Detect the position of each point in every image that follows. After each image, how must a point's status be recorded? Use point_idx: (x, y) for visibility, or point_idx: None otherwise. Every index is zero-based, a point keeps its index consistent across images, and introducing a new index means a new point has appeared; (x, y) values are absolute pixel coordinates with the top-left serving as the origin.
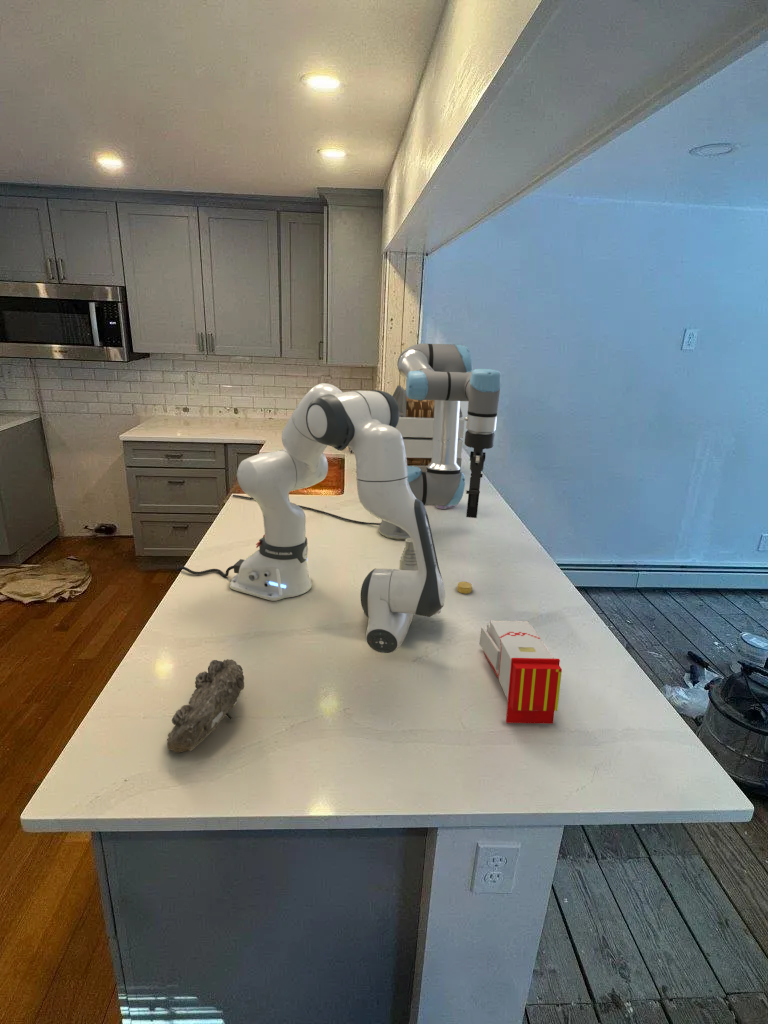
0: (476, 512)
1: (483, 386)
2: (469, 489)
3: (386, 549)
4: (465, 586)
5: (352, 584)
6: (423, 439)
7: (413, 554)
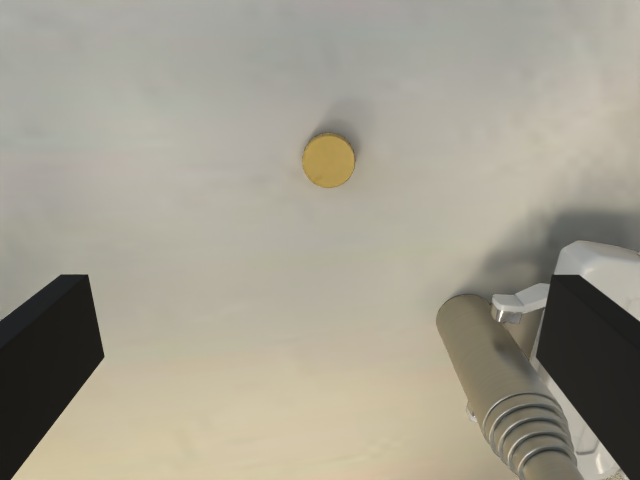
0: (610, 307)
1: None
2: (40, 435)
3: (104, 415)
4: (342, 159)
5: (368, 457)
6: None
7: (568, 444)
